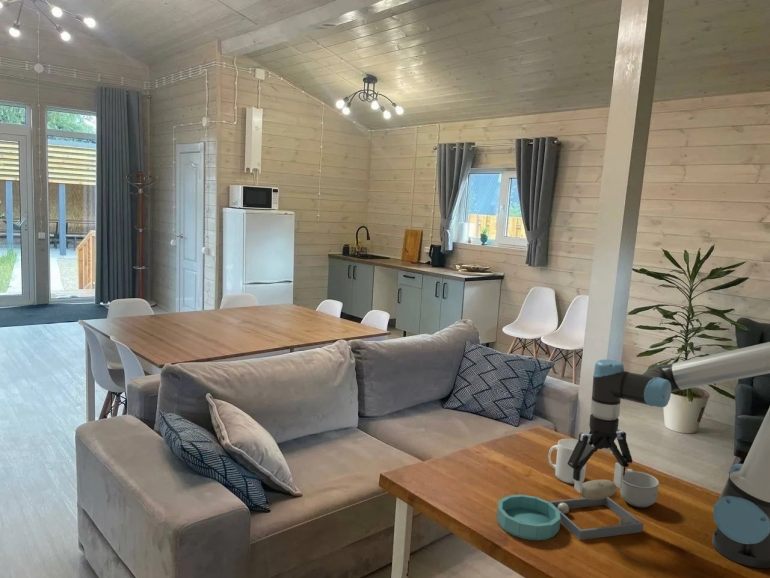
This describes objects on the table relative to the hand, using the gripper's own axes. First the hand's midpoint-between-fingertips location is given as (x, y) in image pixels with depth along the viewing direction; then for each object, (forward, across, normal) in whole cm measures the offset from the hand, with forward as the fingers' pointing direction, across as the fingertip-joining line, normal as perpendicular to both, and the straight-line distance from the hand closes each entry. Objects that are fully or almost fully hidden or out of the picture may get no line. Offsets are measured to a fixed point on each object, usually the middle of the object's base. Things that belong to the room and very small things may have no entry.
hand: (598, 488), depth 167 cm
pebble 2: (+10, -6, +5) cm, 13 cm away
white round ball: (+10, +7, -6) cm, 13 cm away
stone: (+3, 0, 0) cm, 3 cm away
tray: (+10, 0, 0) cm, 10 cm away
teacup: (+10, -21, -8) cm, 25 cm away
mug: (+10, -8, -26) cm, 29 cm away
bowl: (+10, +20, -2) cm, 23 cm away
